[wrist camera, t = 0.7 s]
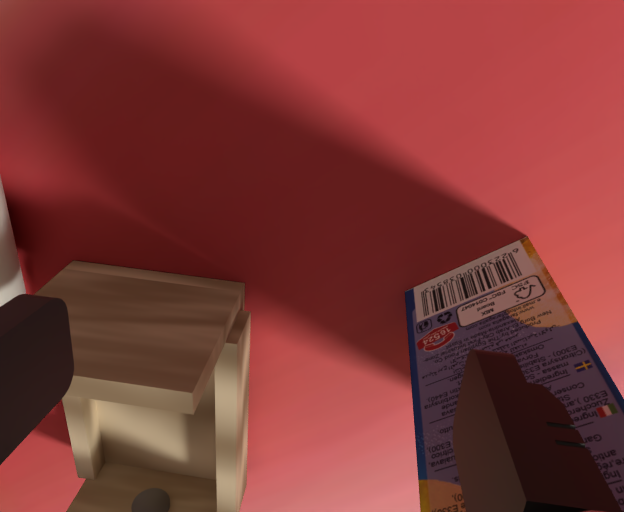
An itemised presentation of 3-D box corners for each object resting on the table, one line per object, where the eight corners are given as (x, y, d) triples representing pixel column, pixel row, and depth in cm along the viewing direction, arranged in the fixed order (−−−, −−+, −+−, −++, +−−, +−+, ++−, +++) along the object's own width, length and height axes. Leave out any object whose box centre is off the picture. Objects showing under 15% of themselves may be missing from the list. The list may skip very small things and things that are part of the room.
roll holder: (63, 259, 30) (-54, 356, 22) (255, 284, 29) (206, 395, 21) (98, 459, 38) (21, 585, 30) (249, 484, 37) (212, 619, 29)
